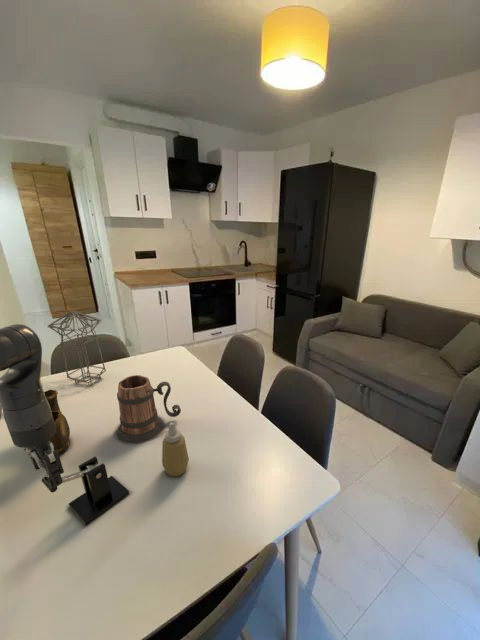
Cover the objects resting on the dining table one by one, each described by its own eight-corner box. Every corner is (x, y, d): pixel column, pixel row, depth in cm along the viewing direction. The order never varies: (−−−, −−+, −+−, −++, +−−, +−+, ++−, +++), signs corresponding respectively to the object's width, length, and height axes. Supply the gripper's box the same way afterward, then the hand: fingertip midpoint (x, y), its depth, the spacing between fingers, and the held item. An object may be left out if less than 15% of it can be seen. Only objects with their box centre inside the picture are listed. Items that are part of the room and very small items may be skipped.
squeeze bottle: (190, 459, 96) (187, 414, 89) (188, 478, 89) (185, 431, 82) (165, 461, 95) (159, 416, 88) (161, 481, 88) (155, 433, 80)
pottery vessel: (78, 464, 92) (64, 412, 84) (35, 480, 86) (16, 425, 78) (68, 423, 110) (56, 377, 102) (33, 433, 104) (17, 385, 96)
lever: (49, 495, 66) (51, 486, 66) (40, 484, 69) (42, 475, 68) (102, 477, 76) (104, 469, 76) (92, 468, 79) (94, 460, 79)
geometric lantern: (113, 376, 144) (101, 308, 130) (89, 392, 130) (73, 317, 116) (86, 372, 147) (72, 304, 133) (60, 387, 133) (40, 313, 119)
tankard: (116, 448, 99) (106, 398, 91) (116, 420, 113) (107, 375, 105) (185, 431, 109) (181, 385, 101) (177, 407, 123) (173, 365, 115)
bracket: (86, 525, 74) (75, 489, 69) (69, 506, 79) (58, 471, 73) (129, 493, 83) (122, 459, 78) (112, 478, 88) (105, 445, 83)
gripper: (-5, 414, 62) (17, 471, 68) (21, 443, 54) (43, 503, 61) (36, 399, 67) (53, 453, 74) (65, 423, 60) (80, 481, 67)
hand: (48, 476), depth 67 cm, fingers open, 8 cm apart
